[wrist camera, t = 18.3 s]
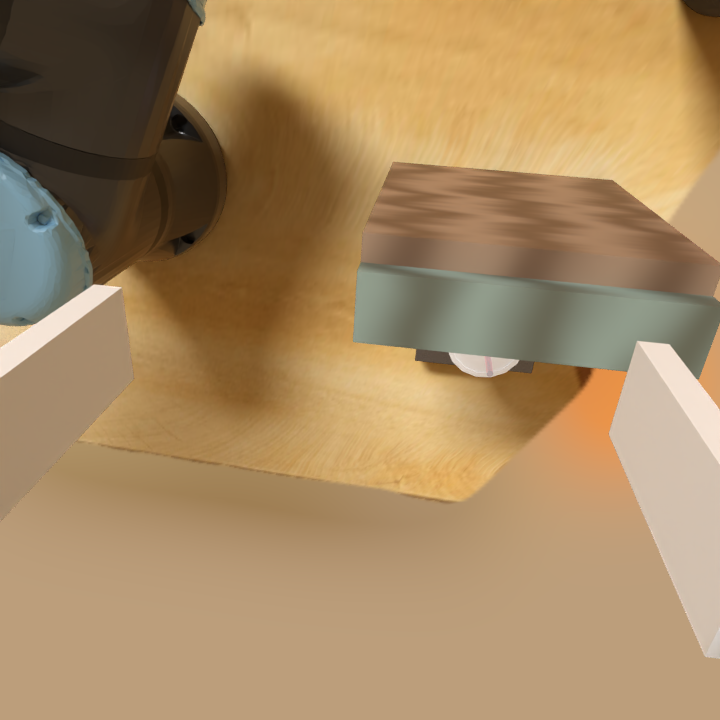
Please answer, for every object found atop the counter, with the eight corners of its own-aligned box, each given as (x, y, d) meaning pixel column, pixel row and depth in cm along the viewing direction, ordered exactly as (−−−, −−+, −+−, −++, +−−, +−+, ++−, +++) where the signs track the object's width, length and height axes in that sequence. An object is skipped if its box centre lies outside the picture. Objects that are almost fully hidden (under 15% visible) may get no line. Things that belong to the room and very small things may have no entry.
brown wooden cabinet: (387, 227, 53) (352, 342, 32) (393, 161, 50) (359, 240, 30) (595, 246, 52) (698, 379, 31) (612, 180, 49) (736, 276, 28)
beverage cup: (434, 291, 55) (430, 361, 43) (493, 256, 53) (507, 319, 41) (468, 343, 57) (474, 423, 45) (526, 311, 55) (549, 386, 43)
